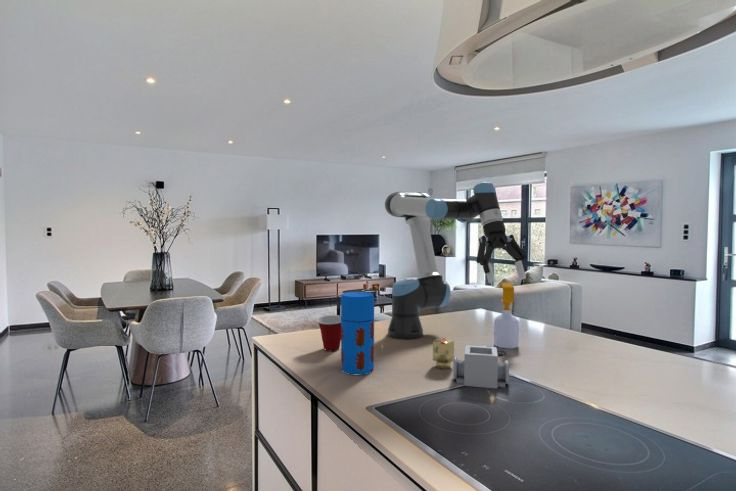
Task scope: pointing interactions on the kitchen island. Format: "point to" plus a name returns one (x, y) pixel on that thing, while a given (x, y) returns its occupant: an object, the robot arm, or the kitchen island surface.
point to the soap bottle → (506, 322)
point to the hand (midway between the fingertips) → (507, 280)
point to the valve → (443, 352)
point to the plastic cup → (330, 331)
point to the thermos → (357, 332)
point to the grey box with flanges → (481, 368)
